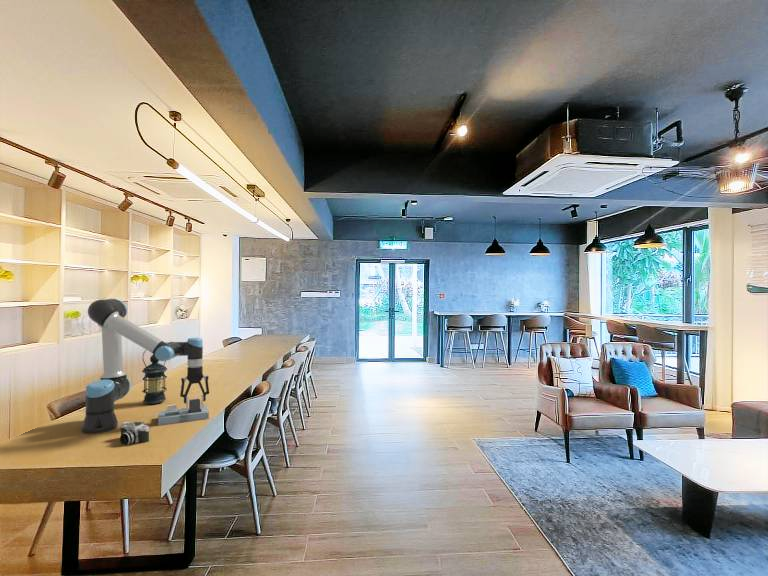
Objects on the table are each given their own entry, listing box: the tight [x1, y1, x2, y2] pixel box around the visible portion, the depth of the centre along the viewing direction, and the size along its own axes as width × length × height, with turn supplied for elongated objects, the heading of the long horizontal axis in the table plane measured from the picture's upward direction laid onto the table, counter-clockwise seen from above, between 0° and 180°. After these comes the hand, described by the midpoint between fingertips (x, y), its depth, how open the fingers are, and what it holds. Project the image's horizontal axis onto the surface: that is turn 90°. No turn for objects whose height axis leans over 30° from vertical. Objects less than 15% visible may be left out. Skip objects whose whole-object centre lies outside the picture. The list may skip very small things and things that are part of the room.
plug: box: [188, 398, 201, 413], centre depth 222 cm, size 5×5×10 cm
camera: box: [119, 421, 150, 446], centre depth 186 cm, size 16×9×10 cm, turn 71°
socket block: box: [157, 404, 210, 426], centre depth 220 cm, size 24×14×7 cm, turn 119°
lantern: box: [141, 349, 168, 405], centre depth 250 cm, size 14×13×35 cm
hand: (194, 408), depth 222 cm, fingers open, 7 cm apart
